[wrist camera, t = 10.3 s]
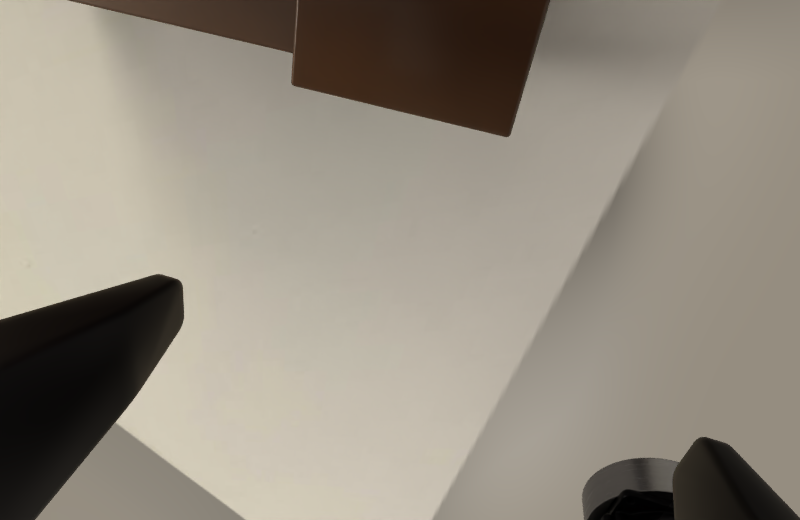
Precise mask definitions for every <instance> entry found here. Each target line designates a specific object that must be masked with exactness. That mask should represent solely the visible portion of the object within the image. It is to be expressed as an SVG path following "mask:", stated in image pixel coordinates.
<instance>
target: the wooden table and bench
mask: <svg viewBox="0 0 800 520" xmlns="http://www.w3.org/2000/svg"><path fill="white" fill-rule="evenodd" d="M69 1H73V2H77V3H82V4H86V5H90V6H94V7H99V8H103V9H107V10H111V11H116V12H120V13H124V14H128V15H133V16H137V17H141V18H145V19H150V20H154V21H158V22H162V23H167V24H171V25H175V26H179V27H184V28H188V29H192V30H196V31H201V32H205V33H209V34H213V35H218V36H222V37H226V38H230V39H235V40H239V41H243V42H247V43H252V44H256V45H260V46H264V47H269V48H273V49H277V50H281V51H286V52H290V53H293V64H292V79H291V83H292V85H294V86H296V87H301V88H305V89H309V90H313V91H317V92H321V93H325V94H330V95H334V96H338V97H342V98H346V99H350V100H354V101H358V102H363V103H367V104H371V105H375V106H379V107H383V108H387V109H392V110H396V111H400V112H404V113H408V114H412V115H416V116H421V117H425V118H429V119H433V120H437V121H441V122H445V123H450V124H454V125H458V126H462V127H466V128H470V129H474V130H479V131H483V132H487V133H491V134H495V135H499V136H503V137H509V136H510V134H511V131H512V128H513V124H514V121H515V118H516V114H517V111H518V108H519V104H520V101H521V98H522V94H523V91H524V87H525V84H526V81H527V77H528V74H529V71H530V67H531V64H532V60H533V57H534V54H535V50H536V47H537V44H538V40H539V37H540V33H541V30H542V27H543V23H544V20H545V17H546V13H547V10H548V6H549V3H550V0H69Z"/></svg>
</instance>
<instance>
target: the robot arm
mask: <svg viewBox="0 0 800 520" xmlns="http://www.w3.org/2000/svg"><path fill="white" fill-rule="evenodd" d="M183 320H184V303H183V285H182V283H181V282H180V281H179V280H178V279H175V278H172V277H169V276H165V275H161V274H156V275H152V276H149V277H145V278H142V279H139V280H135V281H132V282H128V283H125V284H121V285H118V286H115V287H111V288H108V289H104V290H101V291H97V292H94V293H91V294H87V295H84V296H80V297H77V298H73V299H70V300H67V301H63V302H60V303H56V304H53V305H49V306H46V307H43V308H39V309H36V310H32V311H29V312H25V313H22V314H19V315H15V316H12V317H8V318H5V319H1V320H0V520H35V519H36V518H37V517H38V515H39V514H40V513H41V512H42V511H43V509H44V508H45V507H46V506H47V504H48V503H49V502H50V501H51V500H52V498H53V497H54V496H55V495H56V494H57V492H58V491H59V490H60V489H61V487H62V486H63V485H64V484H65V483H66V481H67V480H68V479H69V478H70V477H71V475H72V474H73V473H74V472H75V470H76V469H77V468H78V466H80V464H81V463H82V462H83V461H84V459H85V458H86V457H87V456H88V455H89V453H90V452H91V451H92V450H93V448H94V447H95V446H96V445H97V444H98V442H99V441H100V440H101V439H102V438H103V436H104V435H105V434H106V433H107V432H108V430H109V429H110V428H111V426H112V425H113V424H114V423H115V422H116V421H117V419H118V418H119V417H120V416H121V414H122V413H123V412H124V411H125V410H126V408H127V407H128V406H129V404H130V403H131V402H132V401H133V399H134V398H135V397H136V395H137V394H138V392H139V391H140V390H141V388H142V387H143V385H144V384H145V382H146V381H147V379H148V377H149V376H150V374H151V373H152V371H153V370H154V368H155V367H156V365H157V364H158V362H159V361H160V359H161V358H162V356H163V355H164V353H165V352H166V350H167V349H168V347H169V346H170V344H171V342H172V341H173V339H174V338H175V336H176V335H177V333H178V332H179V330H180V328H181V326H182V324H183ZM673 500H674V502H672V501H669V500H665V499H662V498H659V497H655V496H652V495H649V494H645V493H642V492H639V491H635V490H631V489H626V490H623V491H622V492H621V493H620V494H619V496H618V497H617V499H616V500H615V502H614V503H613V505H612V506H611V508H610V509H609V511H608V512H607V513H606V514H605V515H603V516H602V518H601V519H600V520H800V518H799V517H798V516H797V515H796V514H795V513H794V511H793V510H792V509H791V508H790V507H789V506H788V505H787V504H786V503H785V502H784V501H783V500H782V499H781V498H780V497H779V496H778V495H777V494H776V493H775V492H774V491H773V490H772V488H771V487H770V486H769V485H768V484H767V483H766V482H765V481H764V480H763V479H762V478H761V477H760V476H759V475H758V474H757V473H756V472H755V471H754V470H753V469H752V468H751V467H750V466H749V465H748V464H747V462H746V461H745V460H743V458H742V457H741V456H740V455H739V454H738V453H737V452H736V451H735V450H734V449H733V448H732V447H731V446H730V445H728V444H726V443H723V442H720V441H717V440H713V439H710V438H707V437H700V438H698V439H697V440H696V441H695V442H694V443H693V445H692V446H691V447H690V449H689V450H688V452H687V453H686V454H685V456H684V457H683V459H682V460H681V461H680V463H679V464H678V465H677V467H676V469H675V471H674V475H673Z"/></svg>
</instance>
